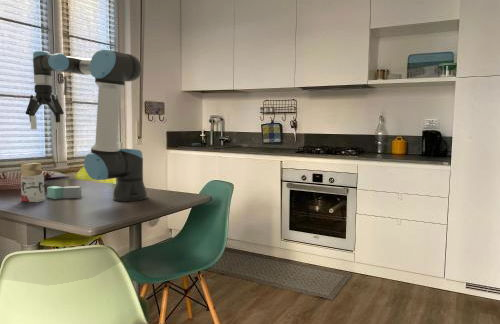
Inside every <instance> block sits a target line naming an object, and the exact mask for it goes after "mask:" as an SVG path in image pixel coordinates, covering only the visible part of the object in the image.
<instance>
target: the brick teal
mask: <svg viewBox="0 0 500 324" xmlns="http://www.w3.org/2000/svg"><path fill="white" fill-rule="evenodd" d="M63 188H64V187H63V186H57V185H51V186H47V187H46V191H47V192H46V193H47V198H49V199H52V200H53V199H55V200H58V199H64V198H63Z"/></svg>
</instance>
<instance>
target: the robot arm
mask: <svg viewBox="0 0 500 324" xmlns="http://www.w3.org/2000/svg"><path fill="white" fill-rule="evenodd" d="M32 53H33V55H32V64H33V65H32V66H33V84H34V93H35V95H34V94H30V97H29V102H28V105H27V108H26V111H25V115H28V116H29V123H30V130H37V129H38V128H37V125H38V124H37V116H36V113H37V112H38V111H39V109H40V107H41V106H42V105H43V106H44V105H46V106H48V107H49V109H50V110H51V111H52V112H51V113H53V130H60V123H61V116H62V115H64V110H63V108H62V106H61V104H60V102H59V99H58V95H57V94H53V86H52V83H53V82H52V81H53V80H52V79H53V78H52V72H61V73H69V74H78V75H83V76H84V75H85V76H86V75H87V76H88V75H89V76H90V75H91V76H93V77H94V83H95V84H96V85H97V86H98V94H97V95H98V96H97V108H96V109H97V111H96V113H97V114H96V128H95V141H94V142H95V143H94V145H92V147H91V149H90V152H89V153H88V154H86V156H85V157H84V160H83V165H84V169H85V172H86V173H87V175H88V177H89V178H91V179H92V180H95V181H106V180H110V179H116V185H115V188H114V191H113V195H112V196H113V197H112V200H114V201H117V202H137V201H142V200H145V199H147V198H148V192H147V189H146V186H145V183H144V166H143V165H144V157H143V152H142V151H141V150H140V149H135V148H134V149H133V148H121V147H120V148H119V147H118V132H119V130H118V129H119V117H120V114H119V113H120V101H121V90H122V89H123V88H124V87H125V84H126V82H134V81H136V80H138V79H139V78H140V77H141V75H142V72H143V65H142V62H141V61H140V59H138V58H137V56H135V55H134V54H130V53H125V52H120V51H116V50H111V49H99V50H97V51H96V52H95V53H94V54H92V56H91V58H86V57H85V58H83V57H74V56H67V55H65V54H64V53H52V54H51V53H50V52H48V51H46V50H45V51H43V50H36V51H33V52H32Z"/></svg>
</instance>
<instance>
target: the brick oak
mask: <svg viewBox="0 0 500 324" xmlns="http://www.w3.org/2000/svg"><path fill="white" fill-rule="evenodd" d="M20 171H21V173H20V174H21V175H20V176H33V175H43V174H42V163H41V162H29V163H21V164H20Z"/></svg>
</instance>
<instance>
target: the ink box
mask: <svg viewBox="0 0 500 324" xmlns="http://www.w3.org/2000/svg"><path fill="white" fill-rule="evenodd" d="M20 190H21V191H20V192H21V202H27V203H39V202H40V203H41V202H44V201H45V200H46V199H45V175H44V174H40V175H33V176H22V175H20Z"/></svg>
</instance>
